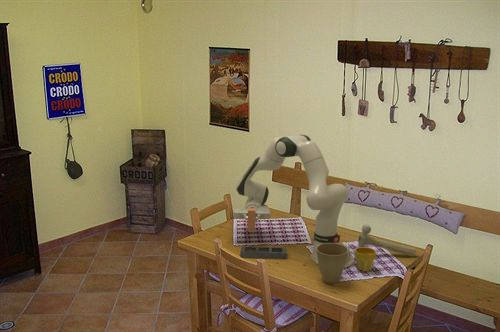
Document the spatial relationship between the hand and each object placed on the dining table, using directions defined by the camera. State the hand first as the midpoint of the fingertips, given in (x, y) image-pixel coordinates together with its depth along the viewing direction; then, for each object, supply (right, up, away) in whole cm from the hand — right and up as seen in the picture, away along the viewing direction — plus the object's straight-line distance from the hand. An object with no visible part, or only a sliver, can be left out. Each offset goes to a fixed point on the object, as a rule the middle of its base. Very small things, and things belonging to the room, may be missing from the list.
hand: (251, 218), depth 291 cm
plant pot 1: (+38, -26, -32) cm, 56 cm away
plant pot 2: (+56, -23, -20) cm, 64 cm away
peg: (0, -7, +3) cm, 7 cm away
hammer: (+71, -19, -3) cm, 74 cm away
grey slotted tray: (+6, -19, -5) cm, 20 cm away
